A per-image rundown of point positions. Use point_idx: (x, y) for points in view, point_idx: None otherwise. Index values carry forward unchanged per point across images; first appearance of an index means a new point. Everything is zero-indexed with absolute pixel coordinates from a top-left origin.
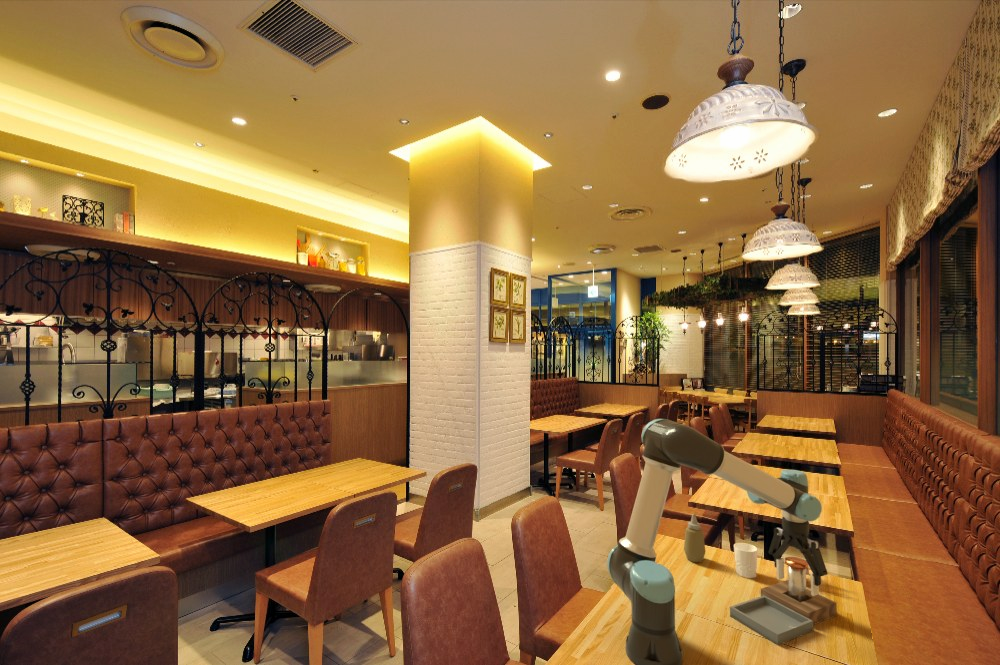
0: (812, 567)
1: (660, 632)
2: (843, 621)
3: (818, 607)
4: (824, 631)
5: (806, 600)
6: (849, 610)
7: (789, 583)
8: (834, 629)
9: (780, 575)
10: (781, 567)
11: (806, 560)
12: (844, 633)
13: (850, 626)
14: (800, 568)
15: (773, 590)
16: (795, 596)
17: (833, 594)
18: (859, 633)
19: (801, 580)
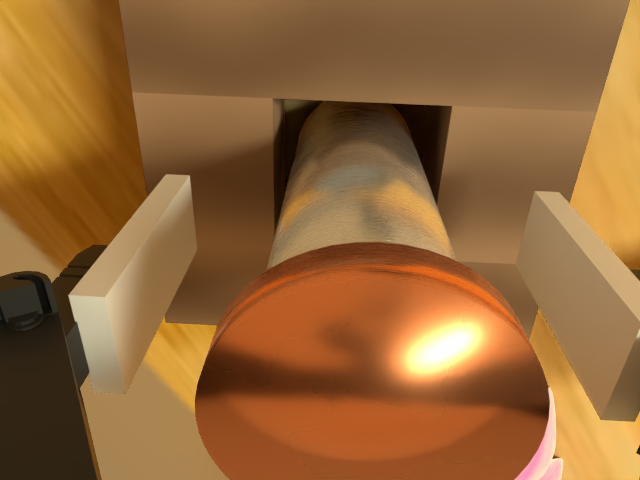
0: (13, 385)
1: None
2: None
3: (158, 151)
4: (72, 11)
5: (270, 171)
6: (199, 369)
7: (400, 167)
8: (75, 104)
9: (542, 235)
10: (569, 302)
11: (84, 468)
12: (22, 116)
13: (77, 225)
14: (233, 300)
15: (526, 77)
16: (334, 128)
17: None
18: (5, 197)
19: (279, 235)
